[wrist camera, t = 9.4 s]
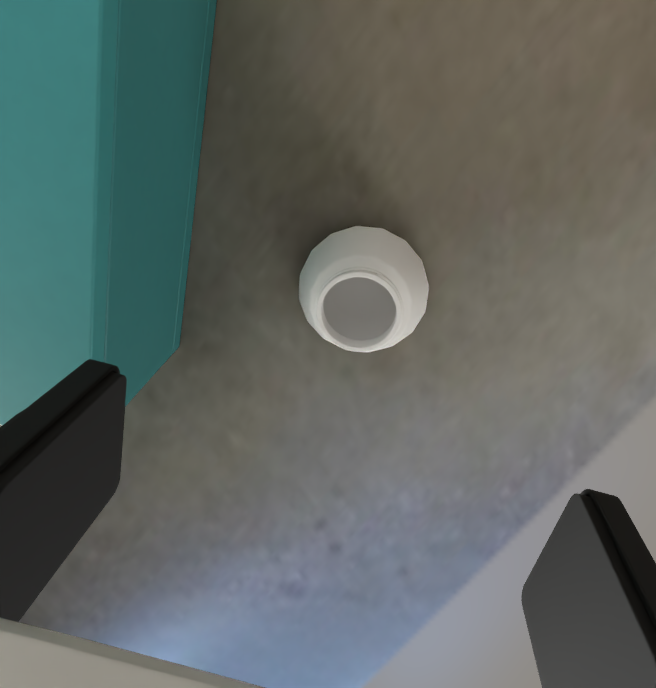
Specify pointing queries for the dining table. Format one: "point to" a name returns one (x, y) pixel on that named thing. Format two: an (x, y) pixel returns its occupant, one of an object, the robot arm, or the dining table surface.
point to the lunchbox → (154, 178)
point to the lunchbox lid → (53, 190)
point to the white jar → (363, 289)
